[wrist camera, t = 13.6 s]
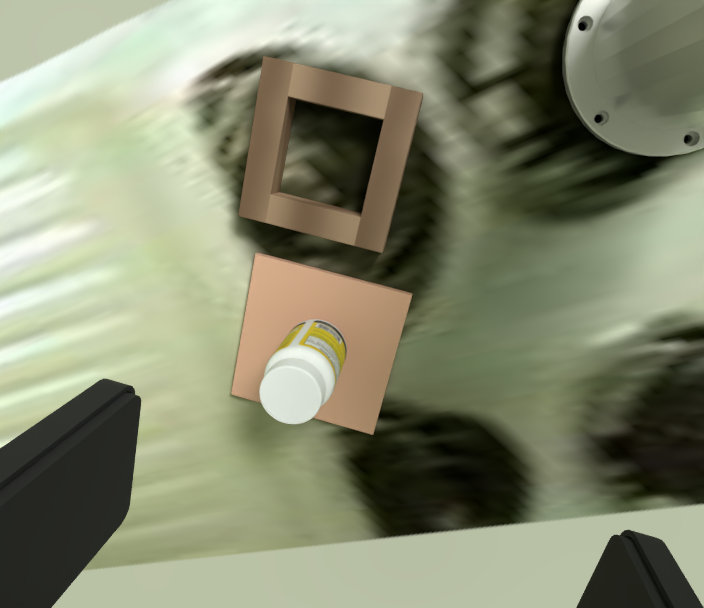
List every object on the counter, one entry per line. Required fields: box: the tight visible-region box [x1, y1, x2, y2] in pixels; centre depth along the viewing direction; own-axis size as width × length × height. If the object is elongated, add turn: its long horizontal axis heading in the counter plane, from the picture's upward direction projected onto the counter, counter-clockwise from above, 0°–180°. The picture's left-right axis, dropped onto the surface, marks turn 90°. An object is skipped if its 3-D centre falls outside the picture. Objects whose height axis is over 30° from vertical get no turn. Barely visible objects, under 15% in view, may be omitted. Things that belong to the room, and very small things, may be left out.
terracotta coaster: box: [231, 253, 412, 435], centre depth 39 cm, size 12×12×1 cm
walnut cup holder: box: [238, 56, 423, 253], centre depth 35 cm, size 10×10×2 cm
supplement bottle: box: [259, 319, 347, 424], centre depth 35 cm, size 5×5×8 cm
